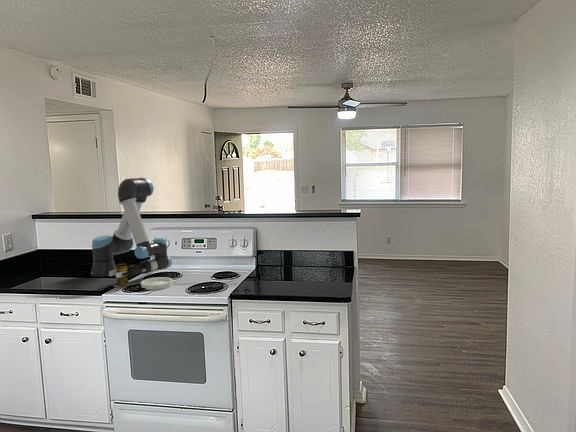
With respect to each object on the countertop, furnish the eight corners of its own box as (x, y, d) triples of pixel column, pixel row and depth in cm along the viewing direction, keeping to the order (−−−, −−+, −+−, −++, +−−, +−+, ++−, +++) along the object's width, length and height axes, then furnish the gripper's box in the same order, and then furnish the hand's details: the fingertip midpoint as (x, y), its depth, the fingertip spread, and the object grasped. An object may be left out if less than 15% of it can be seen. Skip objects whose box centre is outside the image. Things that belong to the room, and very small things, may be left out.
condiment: (130, 284, 260) (129, 264, 258) (115, 287, 255) (113, 266, 254) (127, 282, 266) (125, 261, 264) (112, 284, 261) (110, 264, 260)
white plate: (148, 281, 267) (147, 277, 266) (176, 281, 265) (176, 277, 265) (136, 289, 250) (136, 285, 250) (166, 289, 249) (166, 285, 248)
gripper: (158, 274, 268) (123, 283, 250) (138, 270, 280) (103, 278, 261) (157, 262, 267) (122, 270, 249) (138, 258, 279) (103, 265, 261)
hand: (112, 274), depth 255 cm, fingers closed on condiment, 6 cm apart
